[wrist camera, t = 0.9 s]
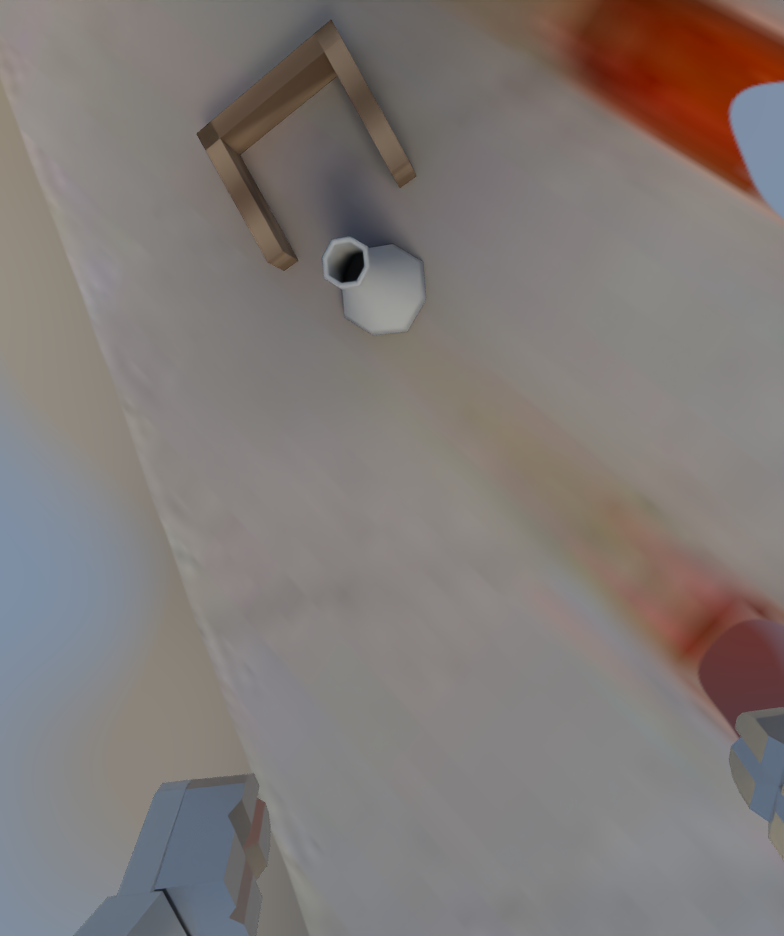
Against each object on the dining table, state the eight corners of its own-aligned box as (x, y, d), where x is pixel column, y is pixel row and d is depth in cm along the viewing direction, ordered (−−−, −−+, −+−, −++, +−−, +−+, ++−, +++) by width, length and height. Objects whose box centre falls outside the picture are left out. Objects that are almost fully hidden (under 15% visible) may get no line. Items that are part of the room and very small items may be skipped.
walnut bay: (217, 150, 45) (196, 133, 42) (344, 45, 41) (331, 19, 38) (284, 270, 45) (267, 262, 42) (416, 176, 41) (408, 160, 38)
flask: (351, 236, 43) (303, 192, 34) (437, 253, 42) (413, 212, 32) (333, 326, 45) (282, 308, 35) (416, 345, 43) (386, 332, 34)
